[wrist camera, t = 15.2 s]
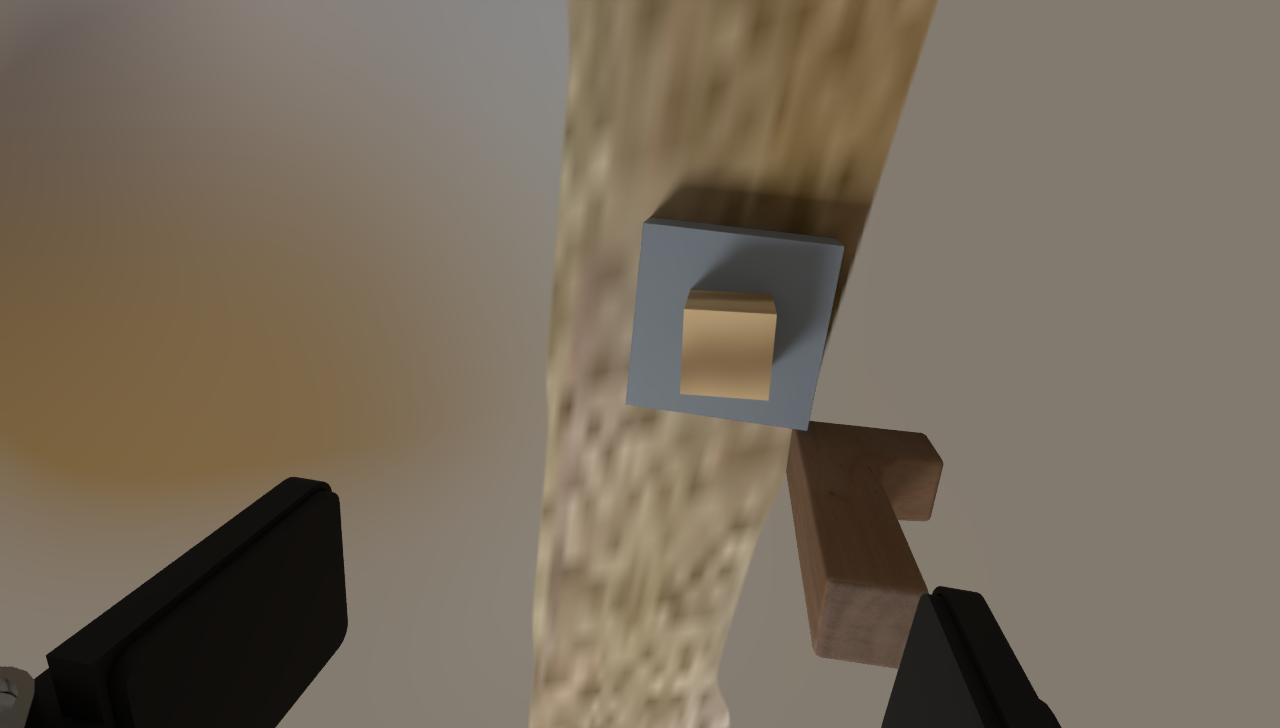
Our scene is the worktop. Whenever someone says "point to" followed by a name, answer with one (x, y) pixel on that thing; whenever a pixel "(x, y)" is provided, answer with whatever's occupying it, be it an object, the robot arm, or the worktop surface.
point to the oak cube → (728, 344)
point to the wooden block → (860, 535)
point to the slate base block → (732, 264)
